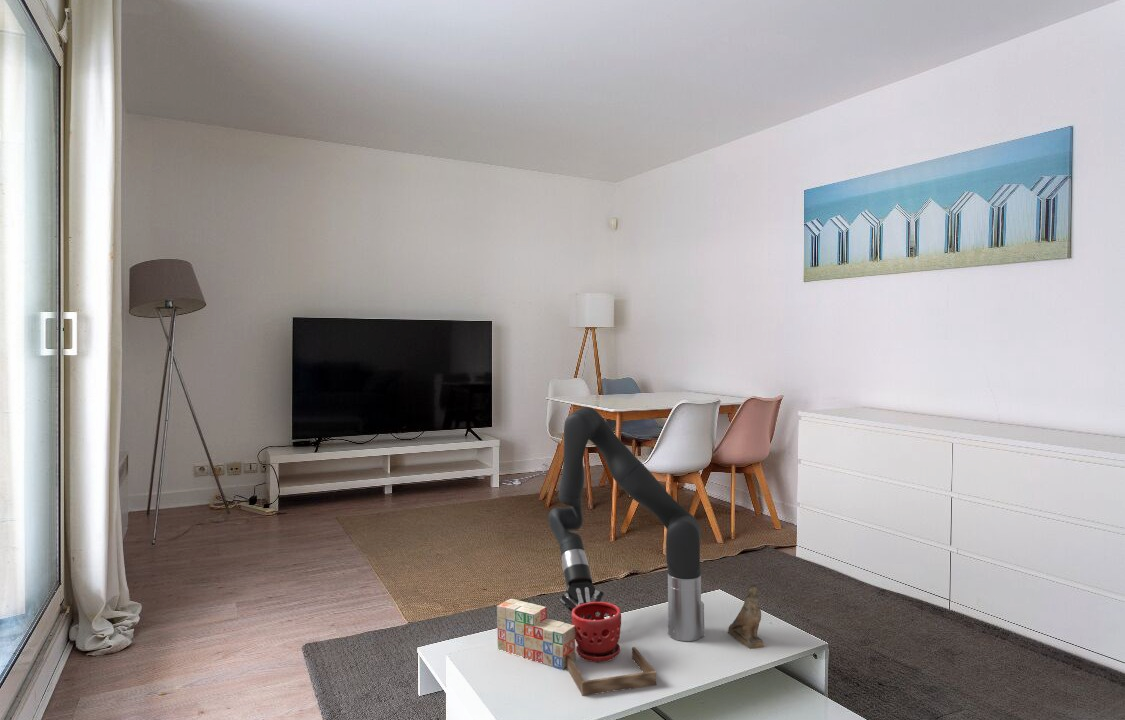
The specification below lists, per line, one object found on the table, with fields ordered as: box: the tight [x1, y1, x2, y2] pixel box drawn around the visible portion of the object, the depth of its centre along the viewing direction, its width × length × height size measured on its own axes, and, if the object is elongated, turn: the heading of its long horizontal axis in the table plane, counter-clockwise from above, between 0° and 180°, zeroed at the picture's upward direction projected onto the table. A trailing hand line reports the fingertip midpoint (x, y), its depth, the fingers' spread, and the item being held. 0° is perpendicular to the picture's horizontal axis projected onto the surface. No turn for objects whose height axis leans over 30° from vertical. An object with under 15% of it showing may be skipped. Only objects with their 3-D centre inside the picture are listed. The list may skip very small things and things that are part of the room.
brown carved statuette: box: [727, 585, 765, 650], centre depth 182 cm, size 12×6×18 cm, turn 14°
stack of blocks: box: [496, 598, 576, 670], centre depth 175 cm, size 21×6×12 cm, turn 57°
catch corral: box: [565, 646, 657, 697], centre depth 163 cm, size 19×14×3 cm
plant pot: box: [571, 601, 622, 663], centre depth 174 cm, size 13×13×12 cm
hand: (588, 627), depth 180 cm, fingers closed
